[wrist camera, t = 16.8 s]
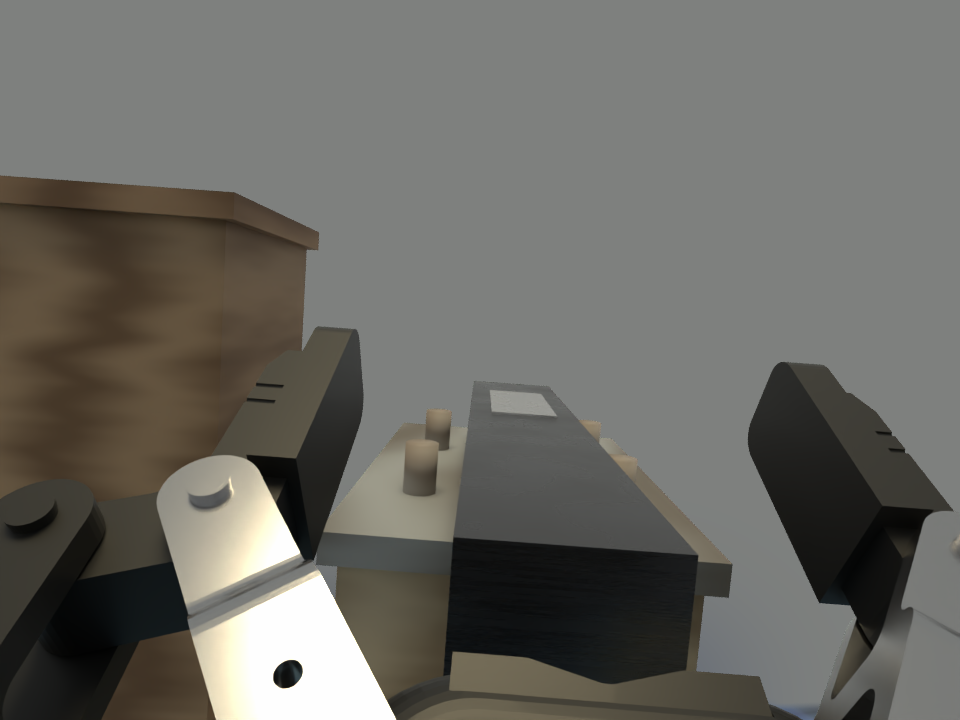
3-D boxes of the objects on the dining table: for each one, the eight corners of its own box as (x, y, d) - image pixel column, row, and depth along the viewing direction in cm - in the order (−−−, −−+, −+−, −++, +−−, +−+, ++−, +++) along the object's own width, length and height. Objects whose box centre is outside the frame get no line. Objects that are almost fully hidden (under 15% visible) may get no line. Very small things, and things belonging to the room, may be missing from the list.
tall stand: (291, 763, 36) (319, 232, 33) (203, 963, 25) (234, 192, 22) (113, 748, 36) (126, 218, 33) (-53, 940, 25) (-52, 171, 22)
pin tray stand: (578, 787, 36) (614, 407, 34) (659, 1219, 19) (739, 503, 17) (381, 771, 36) (406, 392, 34) (283, 1184, 19) (321, 470, 17)
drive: (543, 441, 32) (548, 384, 31) (679, 729, 10) (698, 549, 10) (469, 435, 32) (474, 379, 31) (440, 711, 10) (453, 531, 10)
